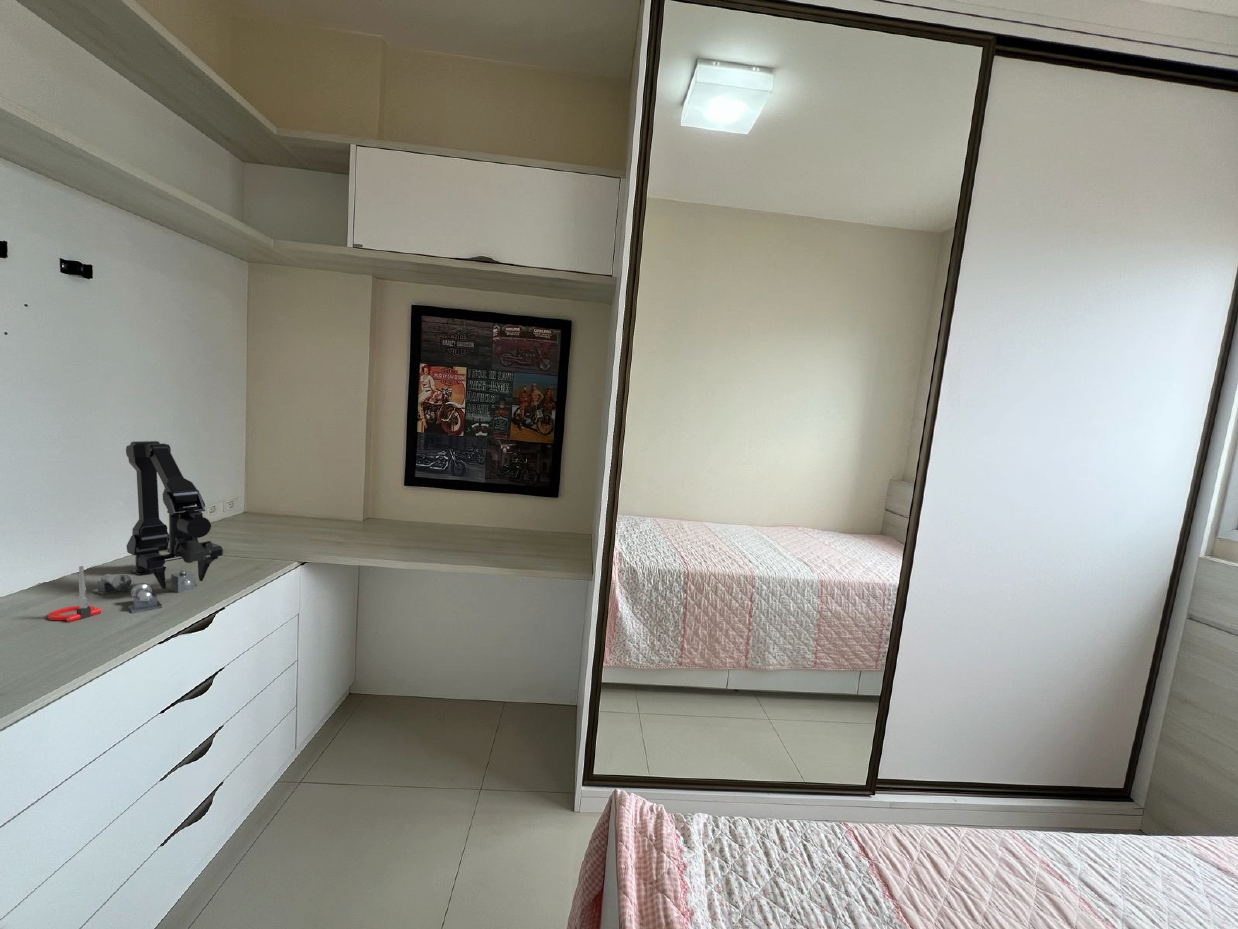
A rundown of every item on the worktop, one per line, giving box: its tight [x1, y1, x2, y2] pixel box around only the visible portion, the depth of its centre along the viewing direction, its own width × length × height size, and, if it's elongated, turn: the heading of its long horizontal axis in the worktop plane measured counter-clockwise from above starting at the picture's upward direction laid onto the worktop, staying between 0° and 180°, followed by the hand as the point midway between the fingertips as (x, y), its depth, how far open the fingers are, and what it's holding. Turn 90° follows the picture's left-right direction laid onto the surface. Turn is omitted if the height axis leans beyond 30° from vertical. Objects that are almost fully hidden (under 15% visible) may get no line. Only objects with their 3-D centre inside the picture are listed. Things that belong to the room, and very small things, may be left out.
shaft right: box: [128, 583, 163, 614], centre depth 149 cm, size 7×6×5 cm
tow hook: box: [47, 565, 102, 623], centre depth 141 cm, size 8×13×9 cm
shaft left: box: [91, 573, 132, 596], centre depth 157 cm, size 7×6×5 cm
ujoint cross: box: [170, 568, 195, 593], centre depth 162 cm, size 6×4×6 cm, turn 61°
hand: (182, 584), depth 162 cm, fingers open, 9 cm apart
